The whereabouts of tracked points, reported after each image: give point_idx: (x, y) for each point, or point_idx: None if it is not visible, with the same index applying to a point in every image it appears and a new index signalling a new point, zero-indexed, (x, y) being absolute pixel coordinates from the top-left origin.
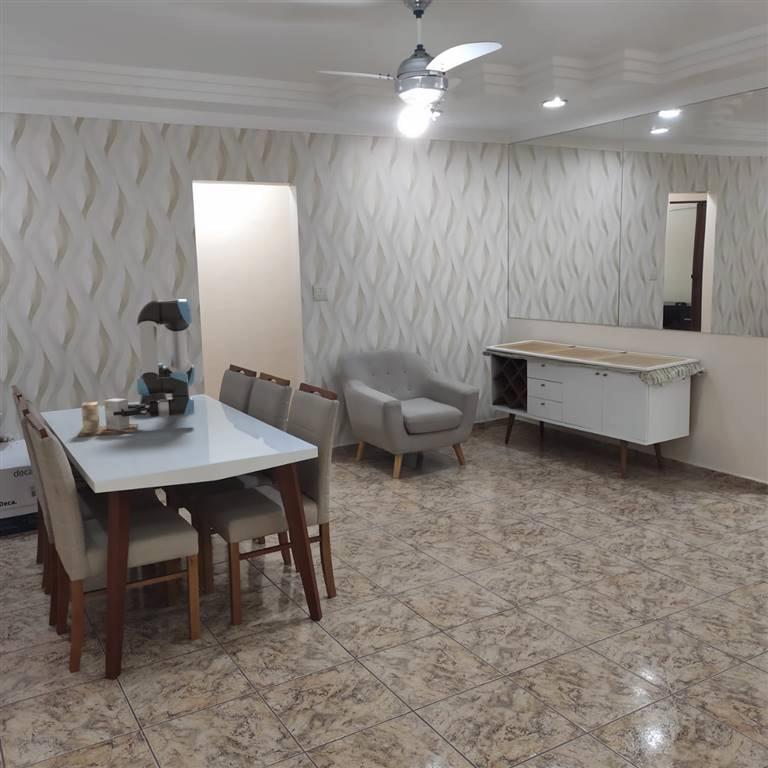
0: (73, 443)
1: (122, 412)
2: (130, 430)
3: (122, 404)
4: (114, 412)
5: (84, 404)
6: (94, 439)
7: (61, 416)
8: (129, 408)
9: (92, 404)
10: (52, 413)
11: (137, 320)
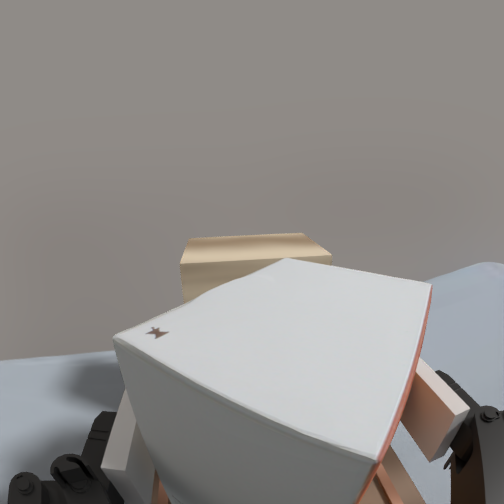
0: (55, 368)
1: (36, 482)
2: None
3: (202, 449)
4: (95, 420)
5: (226, 239)
6: (70, 424)
7: (483, 277)
8: (465, 501)
9: (204, 254)
10: (493, 264)
11: None
